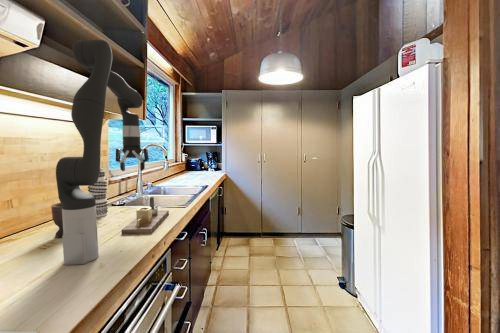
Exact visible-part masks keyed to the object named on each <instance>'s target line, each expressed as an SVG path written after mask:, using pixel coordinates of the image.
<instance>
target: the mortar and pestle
mask: <svg viewBox="0 0 500 333" xmlns="http://www.w3.org/2000/svg"><path fill="white" fill-rule="evenodd" d="M50 207H51V208H50V209H51V216H52V221H53V223H54V225H55V226H56V227H58V230H57V231H56V233H55V235H54V236H55V238H57V239H58V238H60V239H62V236H63V235H64V234H63V218H62V205H61V202H59V203H53V204H51V206H50Z"/></svg>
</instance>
